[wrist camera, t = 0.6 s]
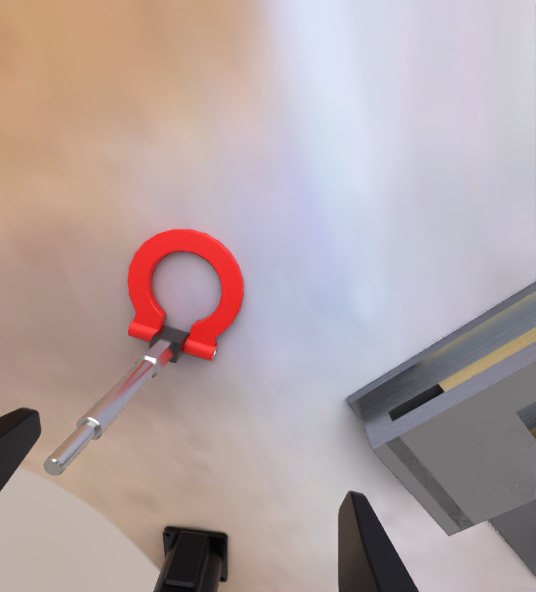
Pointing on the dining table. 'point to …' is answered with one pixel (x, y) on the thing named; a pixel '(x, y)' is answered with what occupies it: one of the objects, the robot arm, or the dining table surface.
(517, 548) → the rubber mat
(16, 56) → the dining table surface
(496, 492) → the windowed slide housing
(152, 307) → the tow hook
